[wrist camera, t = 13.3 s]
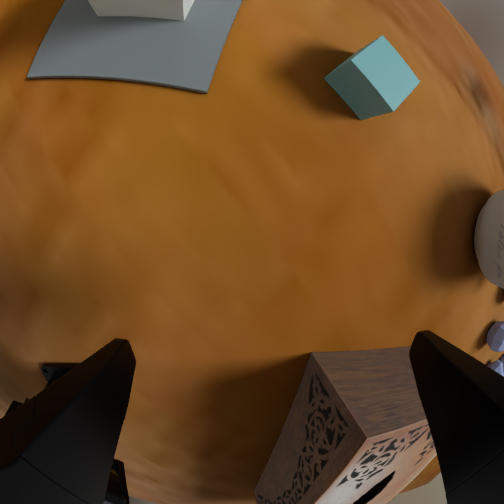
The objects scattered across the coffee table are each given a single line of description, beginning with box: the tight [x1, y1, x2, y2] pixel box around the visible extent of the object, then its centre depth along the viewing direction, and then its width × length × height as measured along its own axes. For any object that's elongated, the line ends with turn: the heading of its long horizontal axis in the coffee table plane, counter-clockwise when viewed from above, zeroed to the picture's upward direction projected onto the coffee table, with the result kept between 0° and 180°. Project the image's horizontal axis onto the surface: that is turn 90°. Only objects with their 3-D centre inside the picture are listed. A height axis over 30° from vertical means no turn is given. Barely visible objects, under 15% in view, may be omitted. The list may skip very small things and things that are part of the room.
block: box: [324, 35, 420, 120], centre depth 15 cm, size 4×4×4 cm
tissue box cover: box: [254, 346, 437, 504], centre depth 21 cm, size 26×14×10 cm, turn 169°
